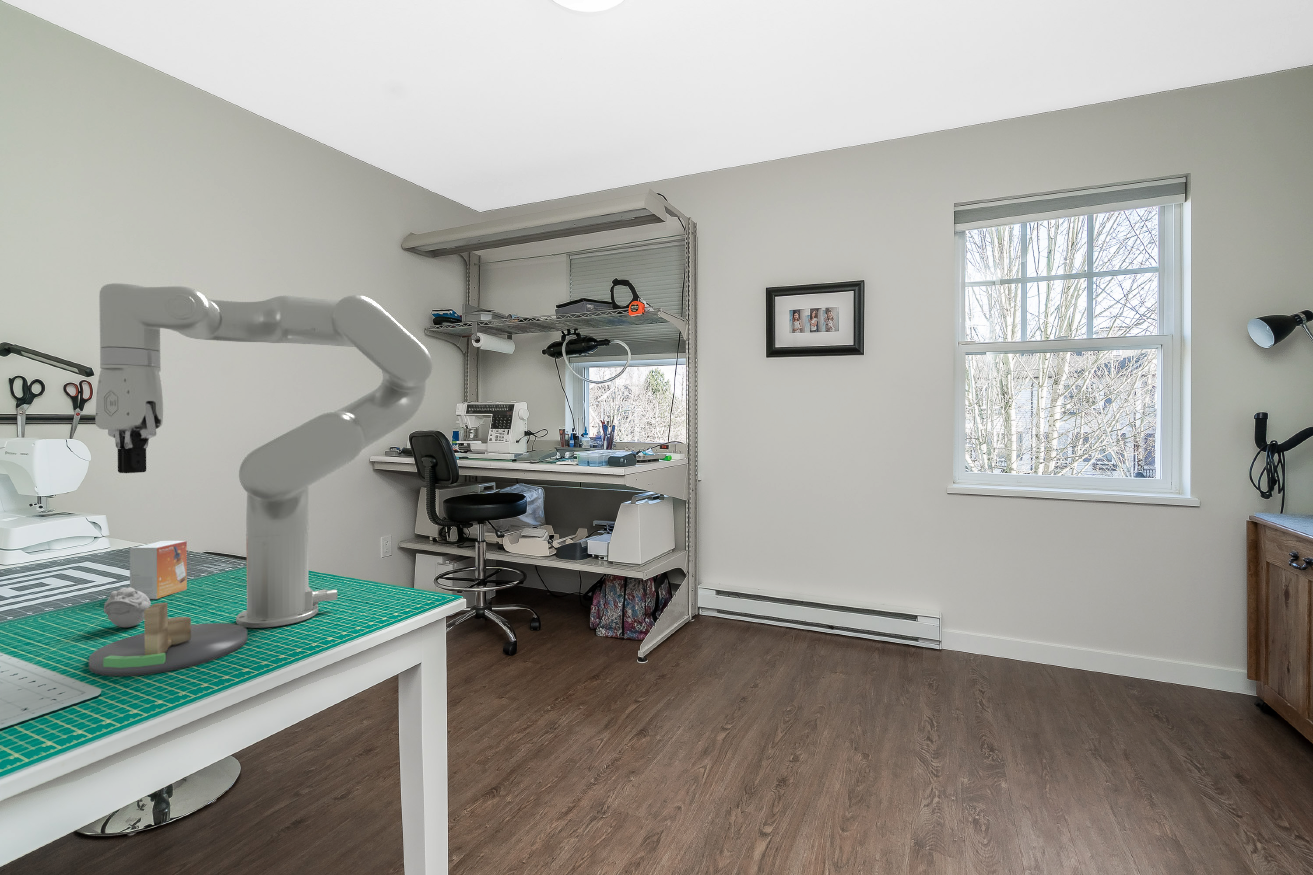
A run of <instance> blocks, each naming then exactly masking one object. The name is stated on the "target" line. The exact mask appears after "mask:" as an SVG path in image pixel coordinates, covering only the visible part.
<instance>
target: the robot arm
mask: <svg viewBox="0 0 1313 875" xmlns="http://www.w3.org/2000/svg"><path fill="white" fill-rule="evenodd" d="M98 296H99V299H98V300H99V360H100V361H99V363H100V364H99V368H100V371H99V372H100V373H99V375H98V380H97V381H98V382H97V388H96V395H95V398H96V399H95V426H96V427H97V428H98V429H100V430H108V431H107V435H108V436H109V437H111V438H114V441H115V442H114V444H115V447H116V449H117V472H118V473H119V474H137V473H146V472H147V448H149V447H148V446H149V440H150V439H152V438H154V437H156V436H157V429H159V428H161V426H162V425H163V422H164V400H163V399H164V398H163V389H162V380H161V375H160V372H162V371H161V369H162V368H161V329H165V330H166V329H167V330H170V331H171V330H172V331H174V332H176V333H179V334H180V335H182V336H184V337H186V338H189V339H195V340H205V341H218V342H235V343H238V342H239V343H269V344H301V345H315V346H316V345H317V346H319V345H320V346H330V347H331V346H332V347H333V346H334V347H348V348H349V347H350V348H353V347H354V348H356V349H357V350H358V351H359V352H361V354H363V355H364V356H365V357H366V358H367V359H368V360H370V361H371V362H372V363H373V364H374V365H375V366H377V368H378V369H380V370H381V373H382V381H381V383H380V384H379V385H378V386H377V388H376V389H374V390H372V391H371V392H369V393H366V394H365V395H363V396H361V397H360V398H358V399H356V400H354V401H353V402H351V403H349V404H347V405H345V406H343V407H341V408H339V409H337V410H335V411H333V412H332V411H331V412H326V413H322V414H319V415H317V416H316V417H314V418H312V419H310V420H308V421H306V422H304V423H302V424H300V425H299V426H295V427H294V428H293V429H291V430H289V431H287V432H285V433H283V434H282V435H280V436H278V437H275V438H274V439H272V440H270V441H268V442H266V443H264V444H263V445H260V446H258V447H256V448H255V449H253V450H252V451H250V452H249V453H248V454H247V455H245V457H244V458H243V459H242V462H241V463H240V466H239V470H238V478H239V482H240V485H241V487H242V489H243V490H244V491H245V492H246V516H245V517H246V521H245V522H246V525H245V526H246V534H245V536H246V545H245V546H246V547H245V548H246V610H244V611H243V610H242V612H240V613H238V614H237V615H236V621H235V622H236V625H239V626H242V627H244V628H251V629H252V628H253V629H254V628H256V629H257V628H259V629H260V628H261V629H262V628H264V629H265V628H273V627H274V628H275V627H280V626H287V625H291V624H295V623H296V624H297V623H300V622H303V621H305V620H308V619H311V618H312V617H314V616H316V615H317V614H318V613H319V605H318V604H320V602H325V601H326V602H329V601H336V600H338V590H337V589H336V588H335V589H331V590H328V589H320V590H313V589H312V588H311V587H310V586H309V493H310V492H309V490H310V488H309V487H310V486H311V485H313V484H315V483H317V482H319V481H320V480H322V479H323V478H325V477H327V476H330V475H331V474H332V473H335V472H336V471H337V470H340V469H341V468H343V467H344V466H346V465H347V464H349V463H351V462H352V461H354V460H355V459H356V458H358V456H359V455H360V454H361V452H362V451H363V450H365V449H366V448H368V447H369V446H371V445H372V444H374V443H375V442H377V441H379V440H381V439H382V438H384V437H386V436H387V435H389V434H391V433H392V432H394V431H396V430H397V429H398V428H400V427H402V426H403V425H405V424H406V423H408V421H410V420H411V419H412V418H413V417H414V416H415V415H416V414H417V412H418V411H419V410H420V407H421V405H422V403H423V401H424V398H425V396H426V395H425V394H426V387H427V381H428V379H429V378H430V376H431V375H432V372H433V369H434V368H433V367H434V365H433V359H432V356H431V354H430V352H429V351H428V349H427V348H426V347H425V346H424V345H423V344H422V343H421V342H420V341H419V340H418V339H417V338H416V337H415V336H413V334H411V333H410V332H409V331H407V330H406V328H404V326H402V325H401V324H400V323H399V322H398V321H397V320H396V319H395V318H394V317H392V315H390V313H389V312H387V311H386V310H385V309H384V308H383V307H382V306H381V305H379V304H378V303H377V302H376V301H375V300H373V299H371V298H369V297H366V296H365V295H360V294H351V295H347V296H344V297H343V298H341V299H340V300H339V299H328V298H327V299H324V298H315V297H304V296H294V295H279V296H274V297H270V298H268V299H265V300H259V301H232V300H221V299H212V298H211V299H209V298H208V297H206V295H205V294H203V293H202V292H201V291H198V290H197V289H195V288H191V287H187V286H176V285H174V286H143V285H138V284H137V285H136V284H131V283H130V284H129V283H116V282H115V283H107V284H104V285H103V286H102V287H101V288H100V290H99V295H98Z"/></svg>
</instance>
